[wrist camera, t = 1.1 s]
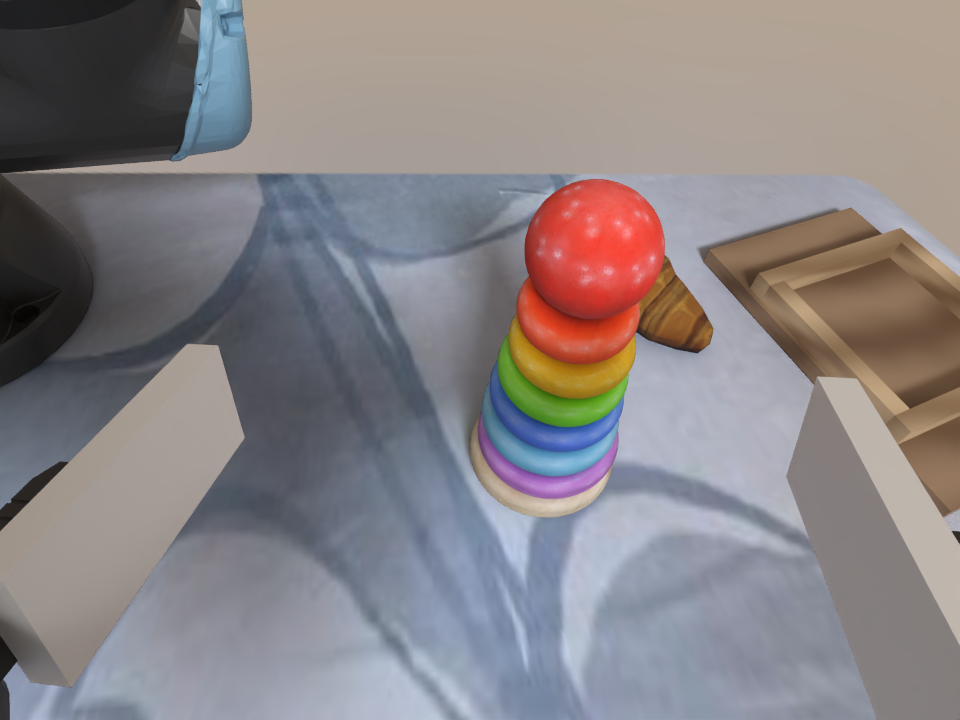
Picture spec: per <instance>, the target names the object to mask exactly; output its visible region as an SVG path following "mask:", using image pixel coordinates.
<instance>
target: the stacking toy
mask: <svg viewBox="0 0 960 720" xmlns="http://www.w3.org/2000/svg"><path fill="white" fill-rule="evenodd" d="M664 255H665V239H664V234H663V229H662V225H661V223H660V220H659V218H658V216H657V214H656V212H655V210H654V209H653V208H652V206H651V205H650V204H649V203H648V202H647V201H646V200H645V198H644V197H642V196H641V195H640V194H639V193H638V192H636V191H635V190H633V189H631V188H630V187H628V186H625V185H623V184H620V183H618V182H614V181H610V180H603V179H589V180H582V181H578V182H575V183H571V184H569V185H567V186H565V187H563V188H561V189H559V190H558V191H556V192H555V193H553V194H552V195H551V196H550V197H548V198H547V199H546V200H545V201H544V202H543V204H542V205H541V206H540V207H539V209H538V210H537V212H536V213H535V215H534V216H533V218H532V220H531V222H530V225H529V227H528V231H527V234H526V238H525V263H526V267H527V271H528V274H529V277H528V278H527V279H526V280H525V282H524V283H523V285H522V287H521V289H520V291H519V294H518V298H517V313H516V314H515V316H514V318H513V320H512V323H511V326H510V330H509V334H508V335H507V336H506V338H505V339H504V341H503V343H502V345H501V348H500V351H499V356H498V360H497V361H496V363H495V365H494V367H493V370H492V373H491V378H490V382H489V384H488V386H487V388H486V390H485V393H484V397H483V402H482V411H481V414H480V416H479V417H478V419H477V421H476V423H475V425H474V427H473V430H472V434H471V439H470V456H471V461H472V465H473V468H474V471H475V473H476V475H477V477H478V479H479V481H480V482H481V484H482V485H483V487H484V488H485V489H486V490H487V492H488V493H489V494H490V495H491V496H492V497H494V498H495V499H496V500H497V501H498V502H500V503H501V504H503V505H504V506H506V507H508V508H510V509H511V510H514V511H516V512H519V513H522V514H525V515H529V516H534V517H559V516H564V515H568V514H571V513H574V512H576V511H578V510H581V509H582V508H584V507H586V506H587V505H588V504H590V503H591V502H592V501H593V500H594V499H595V498H596V497H597V496H598V495H599V494H600V493H601V491H602V490H603V488H604V487H605V485H606V483H607V481H608V479H609V476H610V474H611V470H612V464H613V462H614V460H615V457H616V453H617V449H618V425H619V418H620V415H621V413H622V409H623V404H624V393H625V390H626V387H627V384H628V376H629V371H630V369H631V367H632V365H633V362H634V359H635V354H636V342H635V336H634V335H635V333H636V330H637V327H638V324H639V318H640V309H639V303H638V302H639V301H640V300H642V299H643V298H644V297H645V296H646V294H648V293H649V291H650V290H651V288H652V287H653V285H654V283H655V282H656V280H657V278H658V276H659V274H660V271H661V269H662V265H663V260H664Z"/></svg>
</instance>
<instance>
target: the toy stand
mask: <svg viewBox="0 0 960 720" xmlns="http://www.w3.org/2000/svg"><path fill="white" fill-rule="evenodd" d="M703 262H704V263H705V264H706V265H707V266H708V267H709V268H710V269H711V270H712V272H713V273H714V274H715V275H716V276H717V277H718V278H719V279H720V280H721V282H722V283H723V284H724V285H725V286H726V287H727V288H728V289H729V290H730V292H731V293H732V294H733V295H734V296H735V297H736V298H737V299H738V300H739V301H740V303H741V304H742V305H743V306H744V307H745V308H746V309H747V310H748V311H749V313H750V314H751V315H752V316H753V317H754V318H755V319H756V320H757V321H758V323H759V324H760V325H761V326H762V327H763V328H764V329H765V330H766V331H767V332H768V334H769V335H770V336H771V337H772V338H773V339H774V340H775V341H776V342H777V344H778V345H779V346H780V347H781V348H782V349H783V350H784V351H785V352H786V354H787V355H788V356H789V357H790V358H791V359H792V360H793V361H794V362H795V363H796V365H797V366H798V367H799V368H800V369H801V370H802V371H803V372H804V373H805V375H806V376H807V377H808V378H809V379H810V380H811V381H812V382H813V383H814V385H815V382H816V378H817V377H836V378H855V379H857V380H858V381H859V383H860V384H861V386H862V388H863V389H864V391H865V392H866V394H867V396H868V397H869V399H870V401H871V402H872V404H873V405H874V407H875V409H876V410H877V412H878V413H879V415H880V417H881V418H882V420H883V422H884V423H885V425H886V426H887V428H888V430H889V431H890V433H891V434H892V436H893V438H894V439H895V441H896V443H897V444H898V446H899V447H900V449H901V451H902V452H903V454H904V455H905V457H906V459H907V460H908V462H909V464H910V465H911V467H912V468H913V470H914V472H915V473H916V475H917V476H918V478H919V480H920V481H921V483H922V485H923V486H924V488H925V489H926V491H927V493H928V494H929V496H930V497H931V499H932V501H933V502H934V504H935V505H936V507H937V509H938V510H939V512H940V514H941V515H942V517H945V516H947V515H949V514H951V513H953V512H955V511H957V510H959V509H960V277H959V276H958V275H957V274H955V273H954V272H953V271H952V270H951V269H949V268H948V267H947V266H946V265H945V264H943V263H942V262H941V261H940V260H939V259H937V258H936V257H935V256H934V255H933V254H931V253H930V252H929V251H928V250H927V249H925V248H924V247H923V246H922V245H920V244H919V243H918V242H917V241H916V240H914V239H913V238H912V237H911V236H910V235H908V234H907V233H906V232H905V231H904V230H902V229H901V228H900V229H896V230H893V231H890V232H887V233H884V234H882V233H880V232H879V231H878V230H877V229H876V228H875V227H873V226H872V225H871V224H870V223H869V222H868V221H866V220H865V219H864V218H863V217H862V216H861V215H859V214H858V213H857V212H856V211H855V210H853V209H852V208H848V209H845V210H841V211H838V212H835V213H831V214H828V215H824V216H821V217H818V218H814V219H811V220H807V221H804V222H801V223H797V224H794V225H790V226H787V227H784V228H780V229H777V230H773V231H770V232H767V233H763V234H760V235H756V236H753V237H750V238H746V239H743V240H739V241H736V242H733V243H729V244H726V245H722V246H719V247H716V248H712V249H709V251H708V253H707V255H706V257H705V259H704V261H703Z"/></svg>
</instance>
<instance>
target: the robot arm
mask: <svg viewBox="0 0 960 720" xmlns="http://www.w3.org/2000/svg"><path fill="white" fill-rule="evenodd" d="M243 19H244V17H243V9H242V0H0V173H11V172H23V171H36V170H49V169H61V168H74V167H86V166H99V165H112V164H125V163H138V162H151V161H163V160H170V161H180V160H182V159H184V158H186V157H187V156H189V155H196V154H203V153H208V152H216V151H222V150H227V149H231V148H234V147H236V146H237V145H239V144H240V143H241V142H242V141H243V140H244V139H245V138H246V136H247V134H248V133H249V130H250V126H251V121H252V101H251V85H250V74H249V62H248V52H247V43H246V35H245V29H244V27H243ZM92 285H93V283H92V275H91V271H90V268H89V265H88V263H87V261H86V260H85V258H84V256H83V254H82V253H81V251H80V249H79V247H78V246H77V244H76V242H75V240H74V239H73V237H72V236H71V235H70V234H69V232H68V231H67V230H66V229H65V228H64V227H63V226H62V225H61V224H60V223H59V222H58V221H56V220H55V219H54V218H53V217H52V216H50V215H49V214H48V213H47V212H46V211H44V210H43V209H42V208H41V207H40V206H38V205H37V204H36V203H35V202H34V201H32V200H31V199H30V198H29V197H27V196H26V195H25V194H24V193H23V192H21V191H20V190H19V189H18V188H17V187H15V186H14V185H13V184H12V183H11V182H9V181H8V180H7V179H6V178H5V177H3V176H2V175H1V174H0V386H2V385H4V384H6V383H8V382H10V381H12V380H14V379H16V378H18V377H19V376H21V375H23V374H25V373H26V372H28V371H29V370H31V369H32V368H34V367H35V366H37V365H38V364H40V363H41V362H42V361H44V360H45V359H46V358H47V357H49V356H50V355H51V354H52V353H53V352H55V351H56V350H57V349H58V348H59V347H60V346H61V345H62V344H63V343H64V342H65V341H66V340H67V339H68V338H69V337H70V335H71V334H72V333H73V332H74V330H75V329H76V328H77V326H78V325H79V323H80V322H81V320H82V318H83V317H84V315H85V312H86V310H87V308H88V305H89V303H90V299H91V295H92ZM244 438H245V437H244V434H243V430H242V427H241V423H240V420H239V416H238V413H237V409H236V406H235V402H234V399H233V395H232V392H231V389H230V385H229V382H228V378H227V375H226V371H225V368H224V364H223V361H222V357H221V354H220V350H219V347H218V345H201V344H187V345H186V346H185V347H184V348H183V349H182V350H181V351H180V352H179V353H178V354H177V355H176V356H175V357H174V358H173V359H172V360H171V361H170V362H169V363H168V364H167V365H166V366H165V367H164V368H163V369H162V370H161V371H160V372H159V373H158V374H157V375H156V376H155V377H154V378H153V379H152V380H151V381H150V382H149V383H148V384H147V385H146V386H145V387H144V388H143V389H142V390H141V391H140V392H139V393H138V394H137V395H136V396H135V397H134V398H133V399H132V400H131V401H130V402H129V403H128V404H127V405H126V406H125V407H124V408H123V409H122V410H121V411H120V412H119V413H118V414H117V415H116V416H115V417H114V418H113V419H112V420H111V421H110V422H109V423H108V424H107V425H106V426H105V427H104V428H103V429H102V430H101V431H100V432H99V433H98V434H97V435H96V436H95V437H94V438H93V439H92V440H91V441H90V442H89V443H88V444H87V445H86V446H85V447H84V448H83V449H82V450H81V451H80V452H79V453H78V454H77V455H76V456H75V457H74V458H73V459H72V460H71V461H70V462H59V463H57V464H56V465H54V466H52V467H51V468H49V469H47V470H46V471H44V472H43V473H41V474H39V475H38V476H36V477H34V478H33V479H32V480H31V481H30V482H29V483H27V484H26V485H25V486H24V487H23V488H22V489H21V490H20V491H19V492H18V493H17V494H16V495H15V496H14V497H13V498H12V499H11V500H12V501H11V503H7V504H6V505H5V506H4V507H3V508H2V509H1V510H0V720H10V703H9V691H8V688H7V685H6V683H5V681H4V680H3V678H4V677H5V676H6V675H7V673H8V672H9V671H10V670H11V668H12V667H13V666H14V665H15V663H16V662H17V663H18V665H19V666H20V667H21V669H22V670H23V672H24V673H25V674H26V676H27V677H28V679H29V680H30V682H32V683H40V684H47V685H55V686H63V687H70V688H72V687H73V685H74V684H75V682H76V681H77V679H78V678H79V676H80V675H81V674H82V672H83V671H84V669H85V668H86V666H87V665H88V663H89V662H90V661H91V659H92V658H93V656H94V655H95V653H96V652H97V650H98V649H99V648H100V646H101V645H102V643H103V642H104V640H105V639H106V637H107V636H108V635H109V633H110V632H111V630H112V629H113V627H114V626H115V624H116V623H117V622H118V620H119V619H120V617H121V616H122V614H123V613H124V611H125V610H126V609H127V607H128V606H129V604H130V603H131V601H132V600H133V598H134V597H135V596H136V594H137V593H138V591H139V590H140V588H141V587H142V585H143V584H144V583H145V581H146V580H147V578H148V577H149V575H150V574H151V572H152V571H153V570H154V568H155V567H156V565H157V564H158V562H159V561H160V559H161V558H162V556H163V555H164V554H165V552H166V551H167V549H168V548H169V546H170V545H171V543H172V542H173V541H174V539H175V538H176V536H177V535H178V533H179V532H180V530H181V529H182V528H183V526H184V525H185V523H186V522H187V520H188V519H189V517H190V516H191V515H192V513H193V512H194V510H195V509H196V507H197V506H198V504H199V503H200V502H201V500H202V499H203V497H204V496H205V494H206V493H207V491H208V490H209V489H210V487H211V486H212V484H213V483H214V481H215V480H216V478H217V477H218V476H219V474H220V473H221V471H222V470H223V468H224V467H225V465H226V464H227V463H228V461H229V460H230V458H231V457H232V455H233V454H234V452H235V451H236V450H237V448H238V447H239V445H240V444H241V442H242V441H243V439H244ZM786 477H787V479H788V482H789V485H790V488H791V490H792V493H793V496H794V498H795V501H796V504H797V506H798V509H799V512H800V514H801V517H802V520H803V522H804V525H805V528H806V530H807V533H808V536H809V538H810V541H811V544H812V546H813V549H814V552H815V554H816V557H817V560H818V562H819V565H820V568H821V570H822V573H823V576H824V579H825V581H826V584H827V587H828V589H829V592H830V595H831V597H832V600H833V603H834V605H835V608H836V611H837V613H838V616H839V619H840V621H841V624H842V627H843V629H844V632H845V635H846V637H847V640H848V643H849V645H850V648H851V651H852V653H853V656H854V659H855V662H856V664H857V667H858V670H859V672H860V675H861V678H862V680H863V683H864V686H865V688H866V691H867V694H868V696H869V699H870V702H871V704H872V707H873V710H874V712H875V715H876V718H877V720H960V532H958V531H951V530H950V528H949V526H948V525H947V523H946V522H945V520H944V518H943V517H942V515H941V514H940V512H939V510H938V509H937V507H936V505H935V504H934V502H933V501H932V499H931V497H930V496H929V494H928V493H927V491H926V489H925V488H924V486H923V485H922V483H921V481H920V480H919V478H918V476H917V475H916V473H915V472H914V470H913V468H912V467H911V465H910V464H909V462H908V460H907V459H906V457H905V455H904V454H903V452H902V451H901V449H900V447H899V446H898V444H897V443H896V441H895V439H894V438H893V436H892V434H891V433H890V431H889V430H888V428H887V426H886V425H885V423H884V422H883V420H882V418H881V417H880V415H879V413H878V412H877V410H876V409H875V407H874V405H873V404H872V402H871V401H870V399H869V397H868V396H867V394H866V392H865V391H864V389H863V388H862V386H861V384H860V383H859V381H858V380H857V379H855V378H836V377H817V378H816V382H815V385H814V388H813V391H812V395H811V398H810V401H809V404H808V408H807V411H806V414H805V417H804V421H803V424H802V427H801V431H800V434H799V437H798V440H797V444H796V447H795V450H794V453H793V457H792V460H791V463H790V466H789V470H788V473H787V476H786Z"/></svg>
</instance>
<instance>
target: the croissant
mask: <svg viewBox="0 0 960 720" xmlns="http://www.w3.org/2000/svg"><path fill="white" fill-rule="evenodd" d="M638 303H639V309H640V318H639V324H638V327H637V330H636V332H637V333H639V334H640V335H642V336H643V337H645V338H646V339H648V340H650V341H653V342H656V343H659V344H662V345H665V346H668V347H671V348H674V349H677V350H683V351H688V352H693V353H699V352H700V351H701V350H703V349H704V348H705V347H707V346H708V345H709V344H710V341H711V338H712V334H713V327H712V325H711V323H710V322H709V320H708V318H707V316H706V314H705V312H704V310H703V308H702V307H701V306H700V304H699V303H698V302H697V300H696V299H695V298H694V296H693V295H692V294H691V292H690V291H689V290H688V288H687V287H686V286H685V284H684V283H683V282H682V281H681V280H680V279H679V278H678V276H677V275H676V274H675V272H674V269H673V267H672V265H671V263H670V260H669V258H668V257H666V256H665V255H664V260H663V265H662V269H661V271H660V274H659V276H658V278H657V280H656V282H655V283H654V285H653V287H652V288H651V290H650V291H649V293H648V294H646V296H645V297H644V298H643V299H642V300H640V301H639V302H638Z"/></svg>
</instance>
